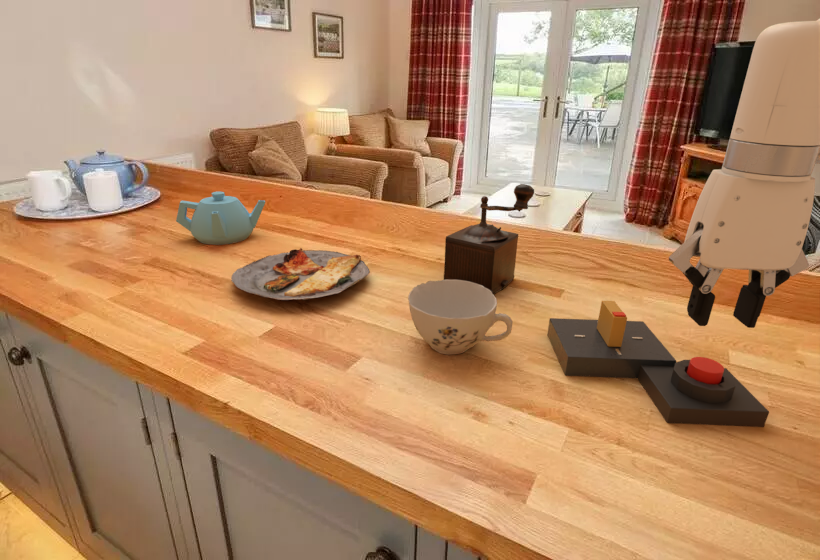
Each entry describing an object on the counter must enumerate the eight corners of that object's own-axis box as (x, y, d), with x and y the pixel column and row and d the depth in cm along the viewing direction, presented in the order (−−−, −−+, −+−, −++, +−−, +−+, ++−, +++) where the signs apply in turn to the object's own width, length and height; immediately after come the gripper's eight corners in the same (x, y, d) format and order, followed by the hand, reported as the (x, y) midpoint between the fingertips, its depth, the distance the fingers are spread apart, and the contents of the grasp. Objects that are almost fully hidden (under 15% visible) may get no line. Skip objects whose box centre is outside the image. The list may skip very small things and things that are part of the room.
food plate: (294, 252, 108) (293, 237, 106) (388, 270, 99) (388, 254, 97) (207, 294, 87) (204, 275, 86) (316, 322, 78) (315, 302, 77)
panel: (639, 338, 75) (643, 320, 74) (671, 380, 65) (677, 359, 64) (547, 335, 75) (549, 317, 74) (564, 376, 65) (568, 355, 64)
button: (710, 369, 61) (714, 357, 60) (726, 386, 58) (730, 373, 57) (681, 368, 61) (684, 356, 60) (695, 385, 58) (699, 372, 57)
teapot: (228, 224, 126) (223, 182, 122) (271, 233, 119) (266, 190, 115) (175, 239, 114) (167, 194, 110) (219, 251, 107) (212, 203, 103)
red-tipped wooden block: (596, 328, 71) (602, 298, 70) (608, 328, 71) (614, 299, 70) (607, 346, 67) (614, 315, 65) (621, 347, 67) (628, 316, 65)
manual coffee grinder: (494, 298, 88) (503, 199, 81) (441, 283, 93) (446, 189, 86) (528, 272, 99) (539, 183, 92) (480, 260, 105) (486, 176, 98)
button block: (721, 381, 65) (729, 355, 63) (764, 427, 56) (774, 398, 55) (637, 378, 65) (643, 352, 63) (667, 423, 57) (675, 394, 55)
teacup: (392, 355, 69) (392, 304, 66) (426, 318, 80) (428, 273, 77) (495, 382, 64) (501, 328, 61) (518, 339, 74) (524, 291, 71)
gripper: (826, 156, 52) (774, 309, 60) (666, 152, 53) (633, 304, 60) (886, 169, 46) (818, 340, 53) (701, 164, 46) (659, 335, 53)
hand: (720, 319), depth 56 cm, fingers open, 4 cm apart
